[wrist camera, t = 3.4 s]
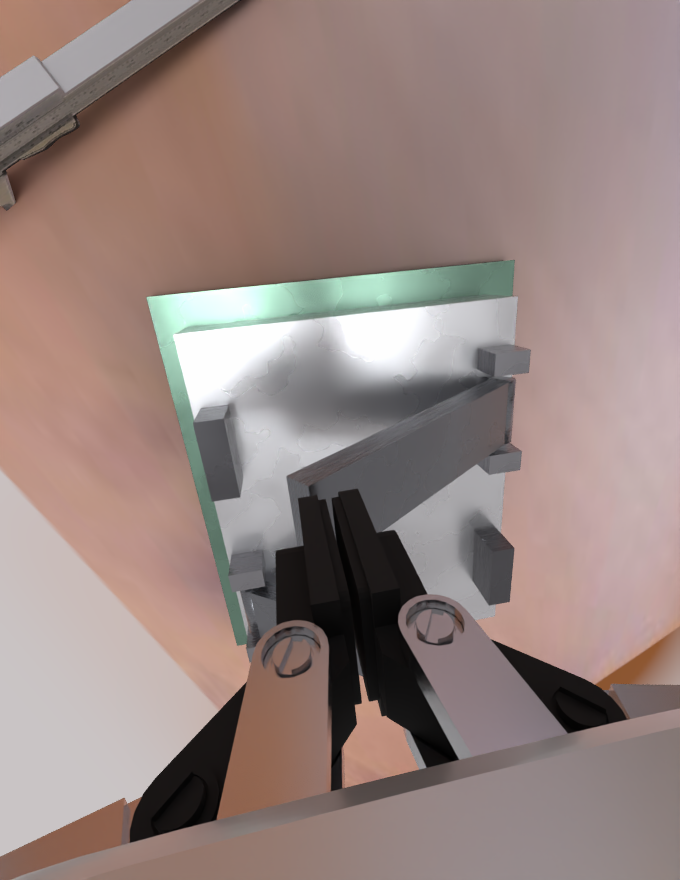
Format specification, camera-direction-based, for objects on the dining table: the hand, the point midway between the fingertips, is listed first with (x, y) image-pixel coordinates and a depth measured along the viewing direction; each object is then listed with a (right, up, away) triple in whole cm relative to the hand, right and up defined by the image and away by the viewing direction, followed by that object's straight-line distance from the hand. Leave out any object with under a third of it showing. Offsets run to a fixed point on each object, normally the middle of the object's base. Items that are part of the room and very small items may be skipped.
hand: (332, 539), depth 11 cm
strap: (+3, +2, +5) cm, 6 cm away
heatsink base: (+1, +1, +13) cm, 13 cm away
